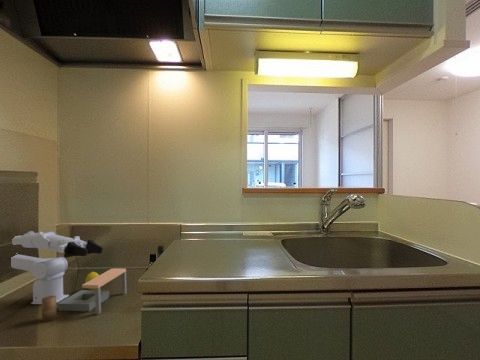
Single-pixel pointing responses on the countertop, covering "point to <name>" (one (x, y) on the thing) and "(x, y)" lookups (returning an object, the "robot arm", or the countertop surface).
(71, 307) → the socket
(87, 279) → the lemon
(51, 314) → the peg
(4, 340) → the countertop surface
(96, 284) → the orange bridge
